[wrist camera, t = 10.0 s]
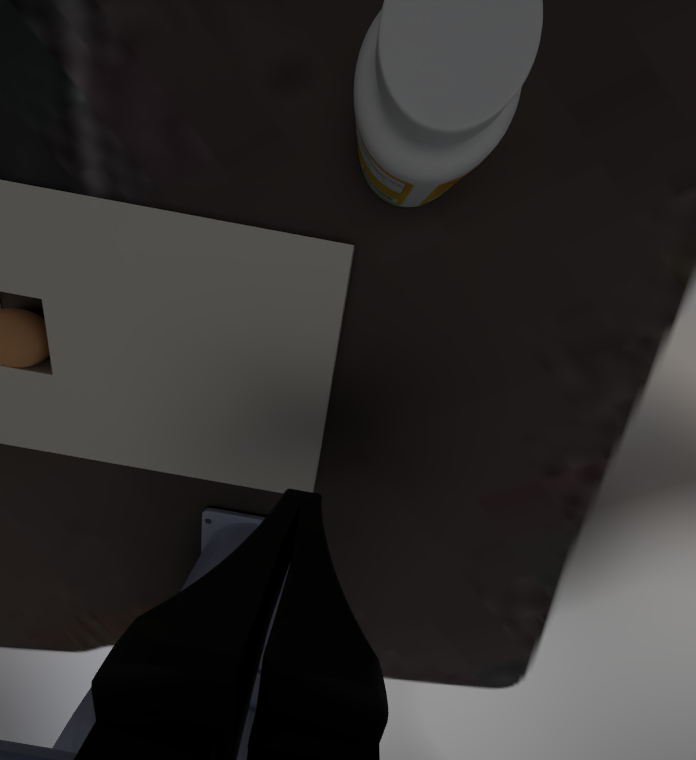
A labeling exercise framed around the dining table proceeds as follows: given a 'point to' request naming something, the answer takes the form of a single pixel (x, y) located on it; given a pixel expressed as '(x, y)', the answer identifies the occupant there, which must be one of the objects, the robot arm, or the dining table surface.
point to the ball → (22, 338)
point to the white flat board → (172, 338)
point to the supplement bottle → (439, 90)
